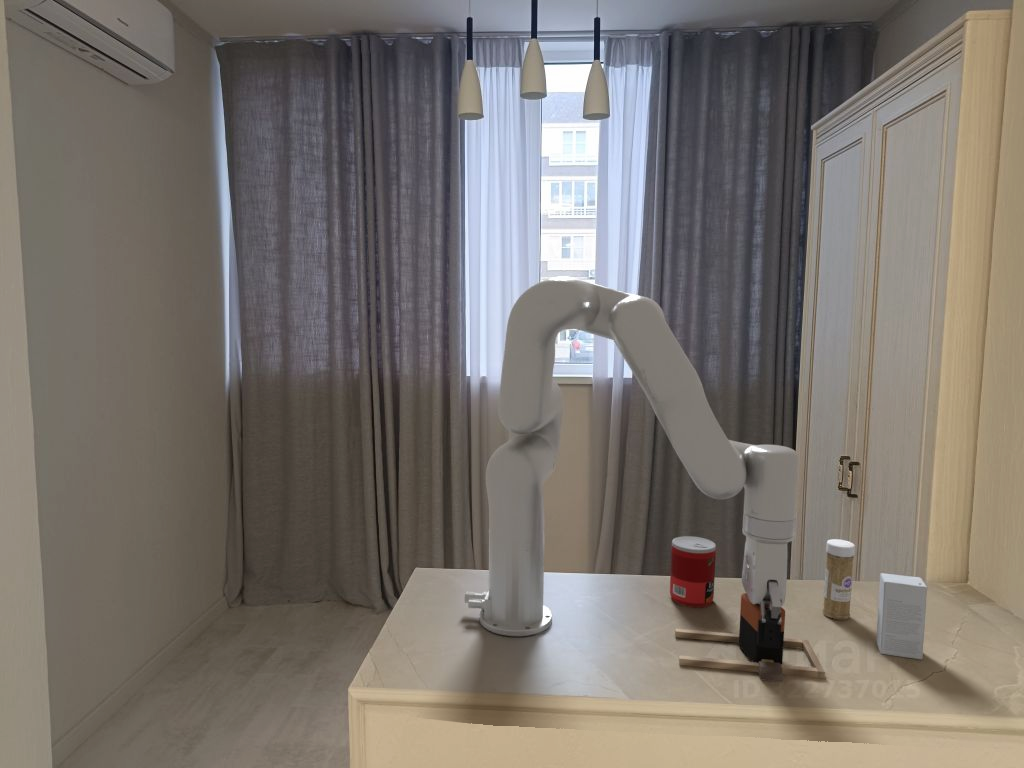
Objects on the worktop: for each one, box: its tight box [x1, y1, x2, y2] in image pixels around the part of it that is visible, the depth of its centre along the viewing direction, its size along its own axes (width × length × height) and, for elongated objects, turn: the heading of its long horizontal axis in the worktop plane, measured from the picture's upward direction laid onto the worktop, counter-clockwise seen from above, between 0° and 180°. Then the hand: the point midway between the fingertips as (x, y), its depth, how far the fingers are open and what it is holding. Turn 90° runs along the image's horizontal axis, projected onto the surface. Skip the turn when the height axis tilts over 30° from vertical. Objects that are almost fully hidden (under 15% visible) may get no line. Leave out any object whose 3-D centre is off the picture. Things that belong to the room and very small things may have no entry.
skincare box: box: [876, 572, 928, 660], centre depth 110 cm, size 6×4×12 cm
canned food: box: [669, 535, 717, 608], centre depth 128 cm, size 8×8×11 cm
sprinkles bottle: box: [822, 538, 856, 621], centre depth 122 cm, size 5×5×13 cm
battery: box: [738, 592, 786, 665], centre depth 107 cm, size 4×7×10 cm, turn 5°
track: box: [674, 628, 826, 682], centre depth 107 cm, size 21×12×2 cm, turn 80°
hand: (762, 631), depth 108 cm, fingers open, 9 cm apart
